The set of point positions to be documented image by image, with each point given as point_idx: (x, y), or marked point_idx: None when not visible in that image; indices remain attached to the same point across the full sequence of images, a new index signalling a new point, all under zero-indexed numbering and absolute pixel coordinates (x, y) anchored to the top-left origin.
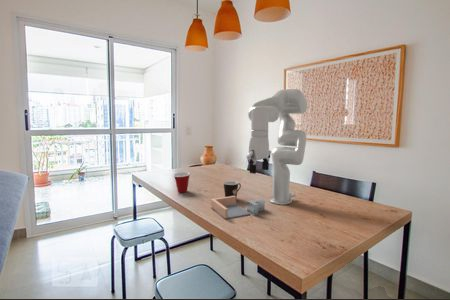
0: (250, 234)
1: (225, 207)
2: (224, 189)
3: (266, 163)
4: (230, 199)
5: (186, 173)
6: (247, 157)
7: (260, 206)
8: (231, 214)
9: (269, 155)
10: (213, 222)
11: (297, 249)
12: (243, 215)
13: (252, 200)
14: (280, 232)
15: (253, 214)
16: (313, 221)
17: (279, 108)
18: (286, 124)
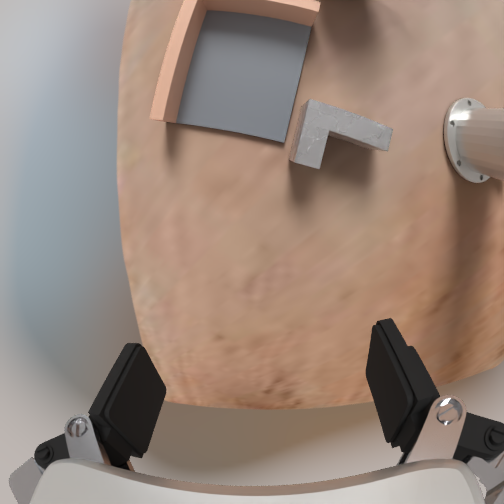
0: (167, 269)
1: (165, 99)
2: None
3: (385, 423)
4: (285, 8)
5: None
6: (22, 475)
7: (355, 142)
8: (210, 102)
9: (475, 472)
10: (120, 125)
11: (216, 372)
12: (250, 134)
13: (338, 110)
14: (252, 311)
15: (289, 157)
16: (388, 317)
17: None
18: None
